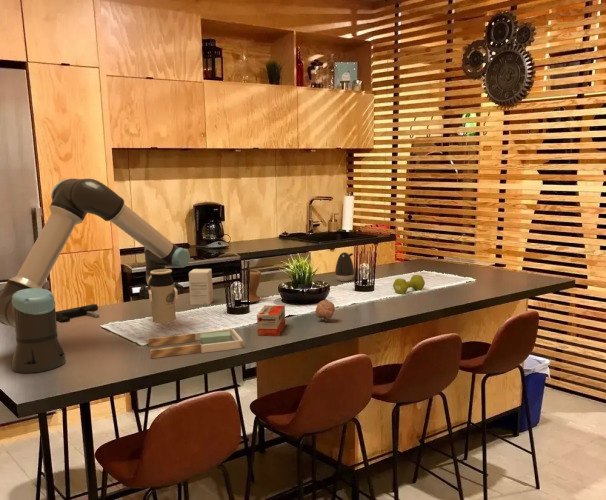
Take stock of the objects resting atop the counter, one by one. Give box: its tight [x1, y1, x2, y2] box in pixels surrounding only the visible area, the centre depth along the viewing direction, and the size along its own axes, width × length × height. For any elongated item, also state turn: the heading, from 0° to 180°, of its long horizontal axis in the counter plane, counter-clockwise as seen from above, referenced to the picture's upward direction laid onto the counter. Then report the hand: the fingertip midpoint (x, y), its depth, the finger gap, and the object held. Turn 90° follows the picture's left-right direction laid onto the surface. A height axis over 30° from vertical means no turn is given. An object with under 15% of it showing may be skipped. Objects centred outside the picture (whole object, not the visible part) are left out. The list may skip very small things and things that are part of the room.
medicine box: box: [256, 304, 286, 337], centre depth 209 cm, size 15×8×8 cm, turn 173°
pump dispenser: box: [334, 252, 355, 282], centre depth 299 cm, size 10×10×15 cm
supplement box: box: [188, 268, 214, 306], centre depth 255 cm, size 9×9×15 cm
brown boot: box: [249, 268, 262, 304], centre depth 257 cm, size 15×12×15 cm
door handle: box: [55, 303, 100, 324], centre depth 236 cm, size 3×20×16 cm
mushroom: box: [315, 299, 336, 323], centre depth 219 cm, size 8×6×8 cm
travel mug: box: [150, 268, 177, 325], centre depth 198 cm, size 8×8×18 cm
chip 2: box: [215, 331, 232, 343], centre depth 192 cm, size 5×5×4 cm
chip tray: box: [194, 328, 244, 354], centre depth 194 cm, size 14×16×2 cm
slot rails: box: [147, 332, 201, 359], centre depth 189 cm, size 16×14×3 cm
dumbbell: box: [392, 274, 426, 295], centre depth 269 cm, size 16×8×7 cm, turn 129°
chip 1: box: [199, 333, 216, 345], centre depth 191 cm, size 5×5×4 cm
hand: (163, 296), depth 193 cm, fingers closed on travel mug, 8 cm apart
